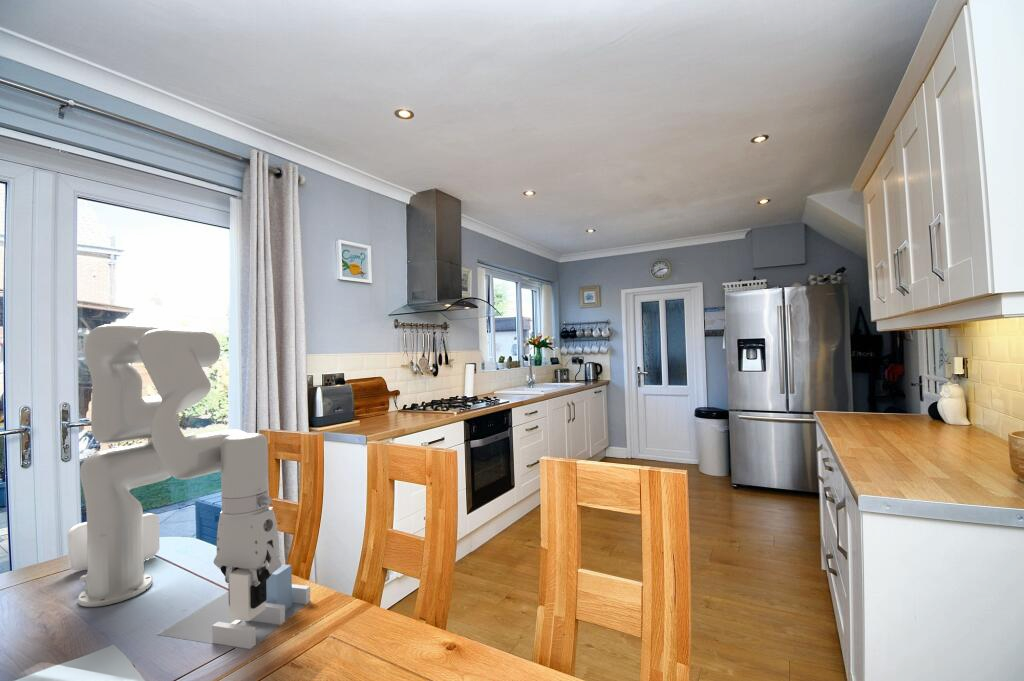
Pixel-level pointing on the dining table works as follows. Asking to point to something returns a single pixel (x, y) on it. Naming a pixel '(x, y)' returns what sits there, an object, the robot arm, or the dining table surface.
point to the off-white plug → (242, 595)
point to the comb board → (235, 622)
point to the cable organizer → (79, 542)
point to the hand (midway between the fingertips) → (247, 602)
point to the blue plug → (280, 587)
